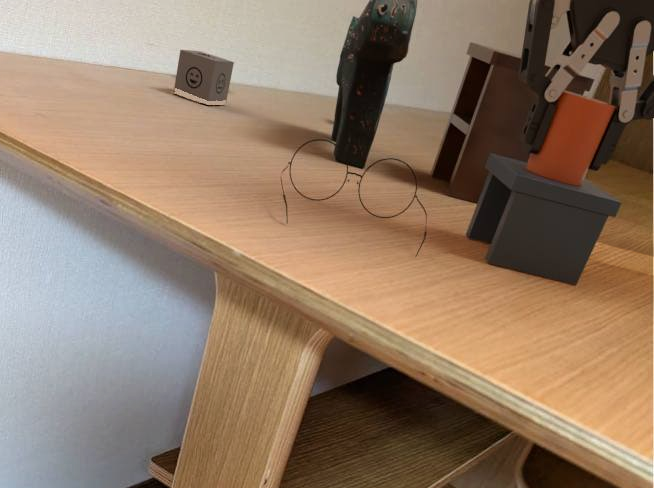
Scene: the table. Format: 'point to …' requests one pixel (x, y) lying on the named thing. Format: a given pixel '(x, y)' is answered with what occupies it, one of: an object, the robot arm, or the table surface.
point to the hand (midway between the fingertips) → (560, 159)
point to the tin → (571, 138)
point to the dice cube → (203, 75)
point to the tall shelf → (487, 119)
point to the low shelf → (538, 221)
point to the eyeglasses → (357, 183)
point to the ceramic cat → (368, 74)
